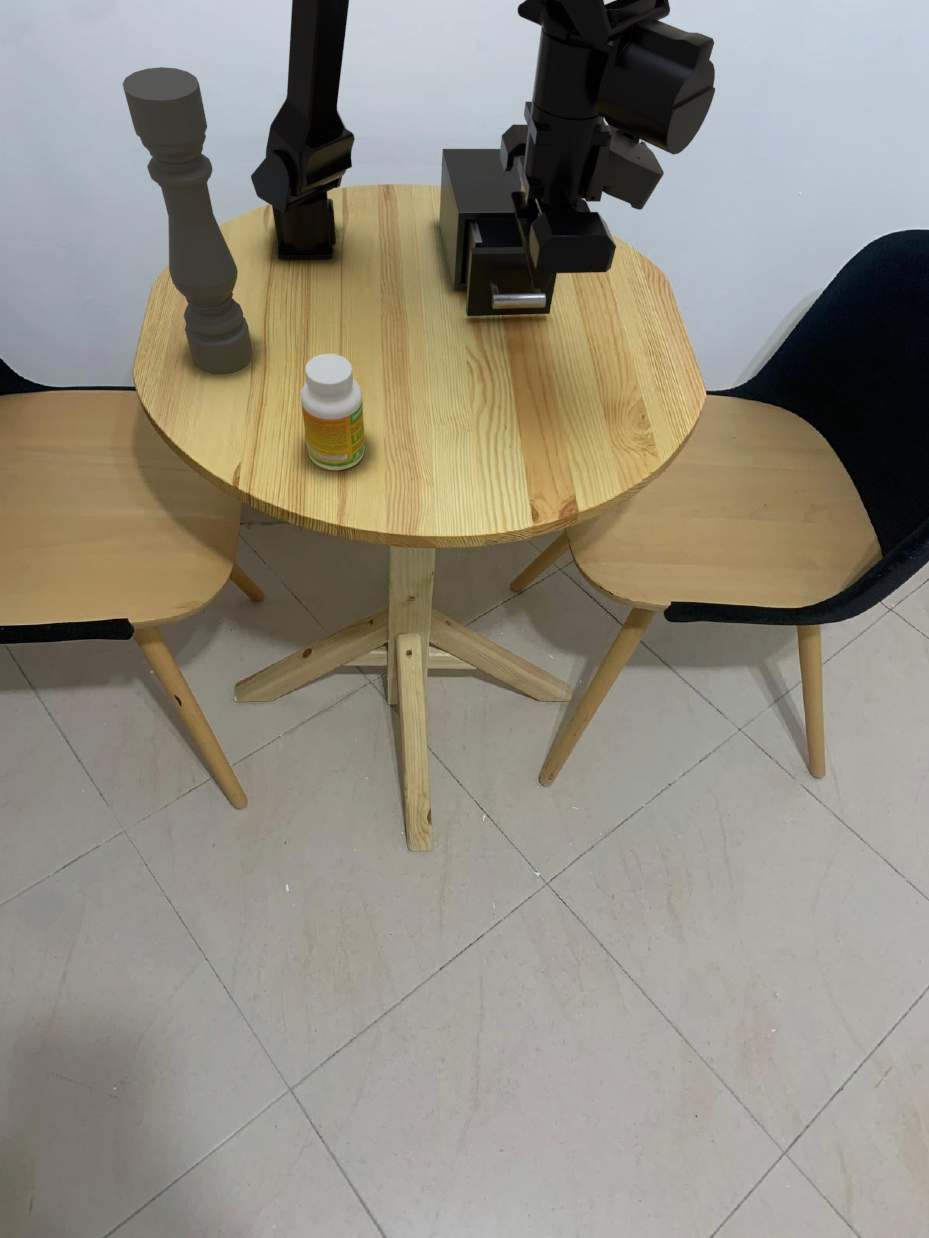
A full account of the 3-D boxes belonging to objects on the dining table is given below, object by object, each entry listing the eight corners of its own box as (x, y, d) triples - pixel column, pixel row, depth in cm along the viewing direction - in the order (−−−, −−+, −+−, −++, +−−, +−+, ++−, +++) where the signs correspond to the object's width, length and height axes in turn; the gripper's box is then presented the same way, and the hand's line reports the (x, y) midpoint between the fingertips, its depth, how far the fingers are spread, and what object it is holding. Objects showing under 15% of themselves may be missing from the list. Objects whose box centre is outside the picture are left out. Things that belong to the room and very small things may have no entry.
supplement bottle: (362, 474, 72) (357, 391, 64) (304, 470, 72) (292, 387, 64) (367, 434, 75) (363, 350, 67) (311, 430, 75) (301, 345, 67)
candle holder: (192, 376, 78) (116, 103, 57) (191, 337, 81) (120, 66, 61) (254, 371, 79) (202, 101, 58) (251, 334, 82) (201, 65, 62)
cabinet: (542, 288, 91) (555, 211, 83) (453, 290, 89) (458, 212, 82) (521, 224, 98) (531, 148, 91) (439, 225, 97) (442, 148, 89)
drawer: (557, 337, 84) (569, 275, 78) (472, 340, 83) (478, 277, 77) (528, 250, 93) (537, 189, 87) (452, 251, 92) (455, 189, 86)
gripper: (705, 164, 55) (647, 348, 68) (637, 51, 65) (598, 230, 78) (554, 164, 54) (524, 352, 67) (509, 49, 64) (490, 231, 77)
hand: (538, 286), depth 72 cm, fingers closed
